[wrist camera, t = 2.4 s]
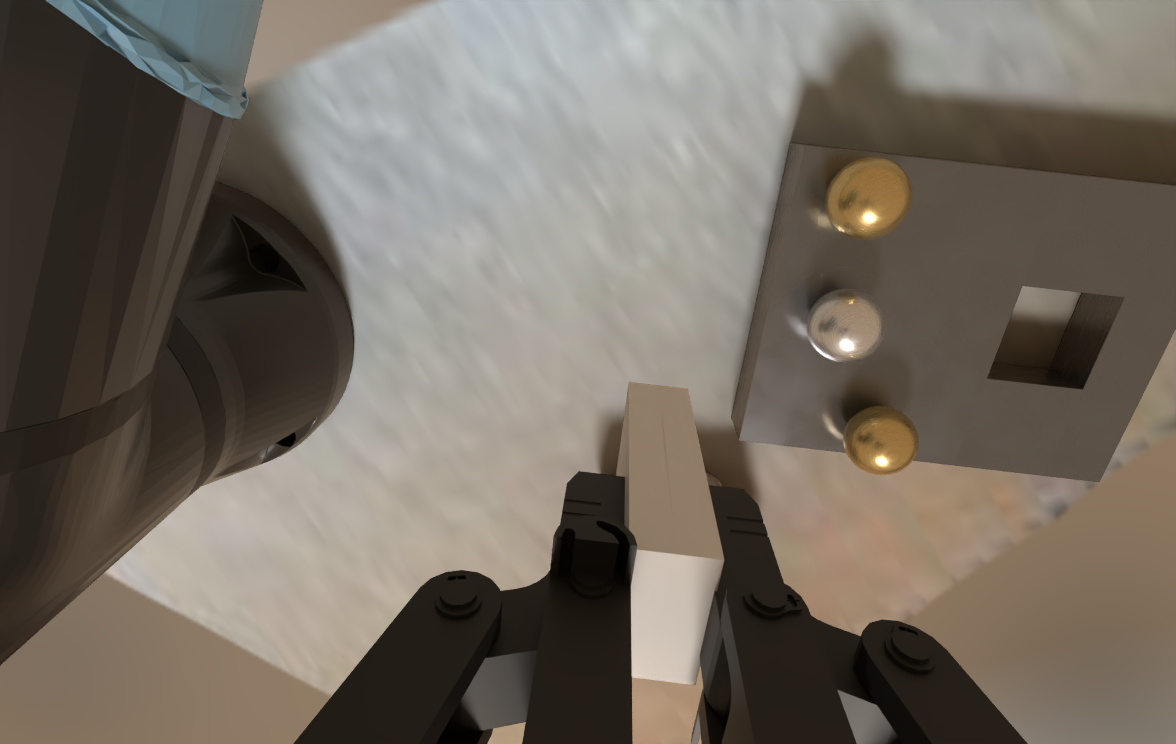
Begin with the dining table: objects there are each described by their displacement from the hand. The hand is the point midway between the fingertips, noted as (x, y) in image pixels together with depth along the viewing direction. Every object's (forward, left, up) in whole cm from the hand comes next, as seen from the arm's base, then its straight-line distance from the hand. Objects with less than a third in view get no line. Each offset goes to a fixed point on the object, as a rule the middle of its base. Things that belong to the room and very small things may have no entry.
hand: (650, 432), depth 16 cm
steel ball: (+9, 0, -12) cm, 15 cm away
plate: (+15, 0, -16) cm, 22 cm away
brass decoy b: (+12, -5, -12) cm, 18 cm away
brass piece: (+8, +5, -12) cm, 16 cm away
